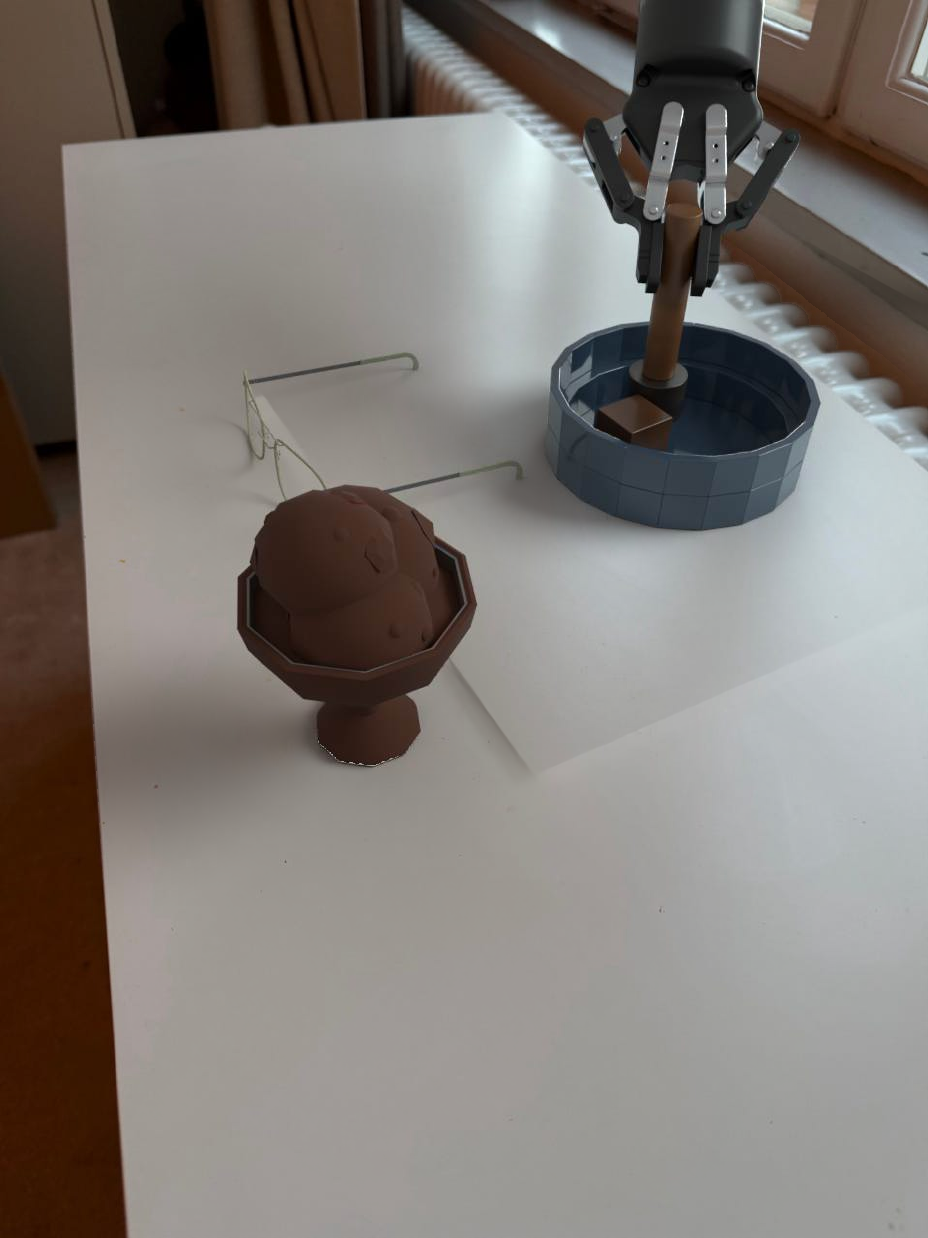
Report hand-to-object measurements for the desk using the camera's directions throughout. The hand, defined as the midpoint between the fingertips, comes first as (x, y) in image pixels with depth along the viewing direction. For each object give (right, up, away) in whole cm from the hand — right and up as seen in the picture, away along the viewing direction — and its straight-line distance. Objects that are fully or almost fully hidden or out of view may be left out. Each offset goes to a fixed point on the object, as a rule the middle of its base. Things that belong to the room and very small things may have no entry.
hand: (675, 289), depth 61 cm
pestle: (0, -6, +8) cm, 10 cm away
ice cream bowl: (-18, -26, -9) cm, 33 cm away
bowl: (+1, -9, +8) cm, 12 cm away
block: (-2, -9, +7) cm, 11 cm away
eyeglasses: (-19, -9, +8) cm, 23 cm away
